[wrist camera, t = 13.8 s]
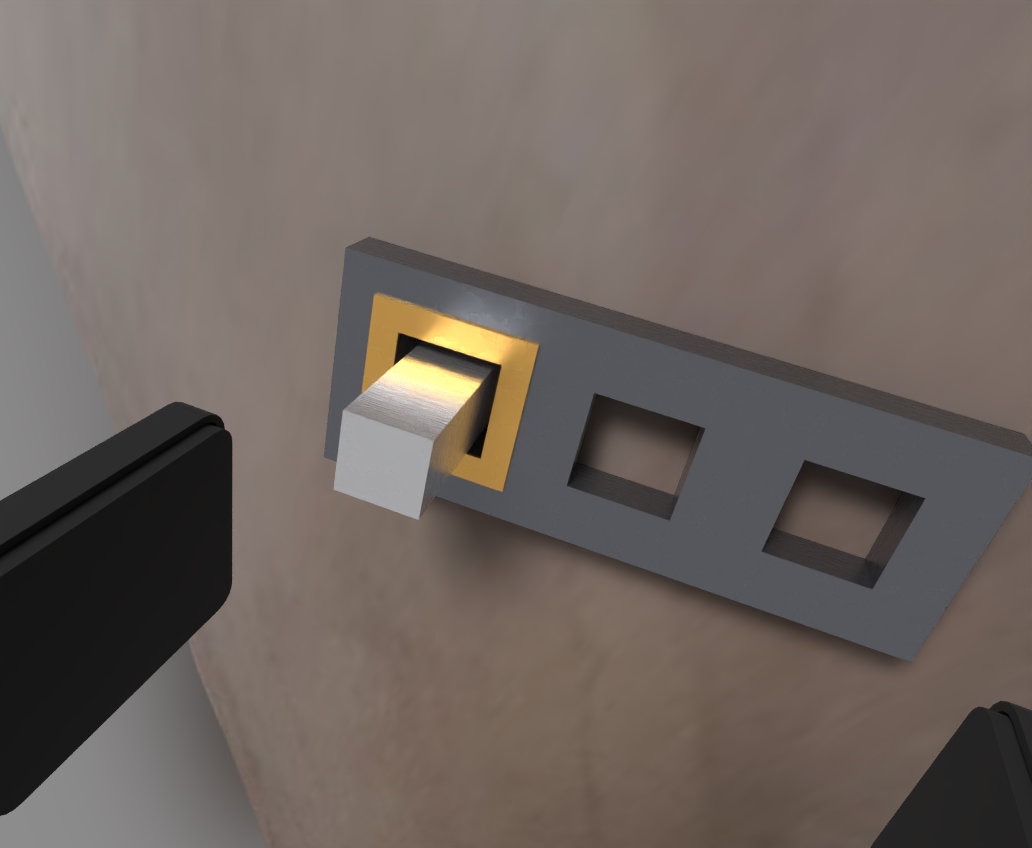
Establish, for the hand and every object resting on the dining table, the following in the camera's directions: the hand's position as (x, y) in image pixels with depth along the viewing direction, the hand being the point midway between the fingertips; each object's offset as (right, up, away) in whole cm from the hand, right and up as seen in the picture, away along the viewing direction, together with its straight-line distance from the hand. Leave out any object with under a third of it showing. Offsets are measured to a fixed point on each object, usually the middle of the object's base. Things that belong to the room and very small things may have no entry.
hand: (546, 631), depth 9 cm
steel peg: (-3, +5, +31) cm, 31 cm away
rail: (+6, +2, +29) cm, 30 cm away
